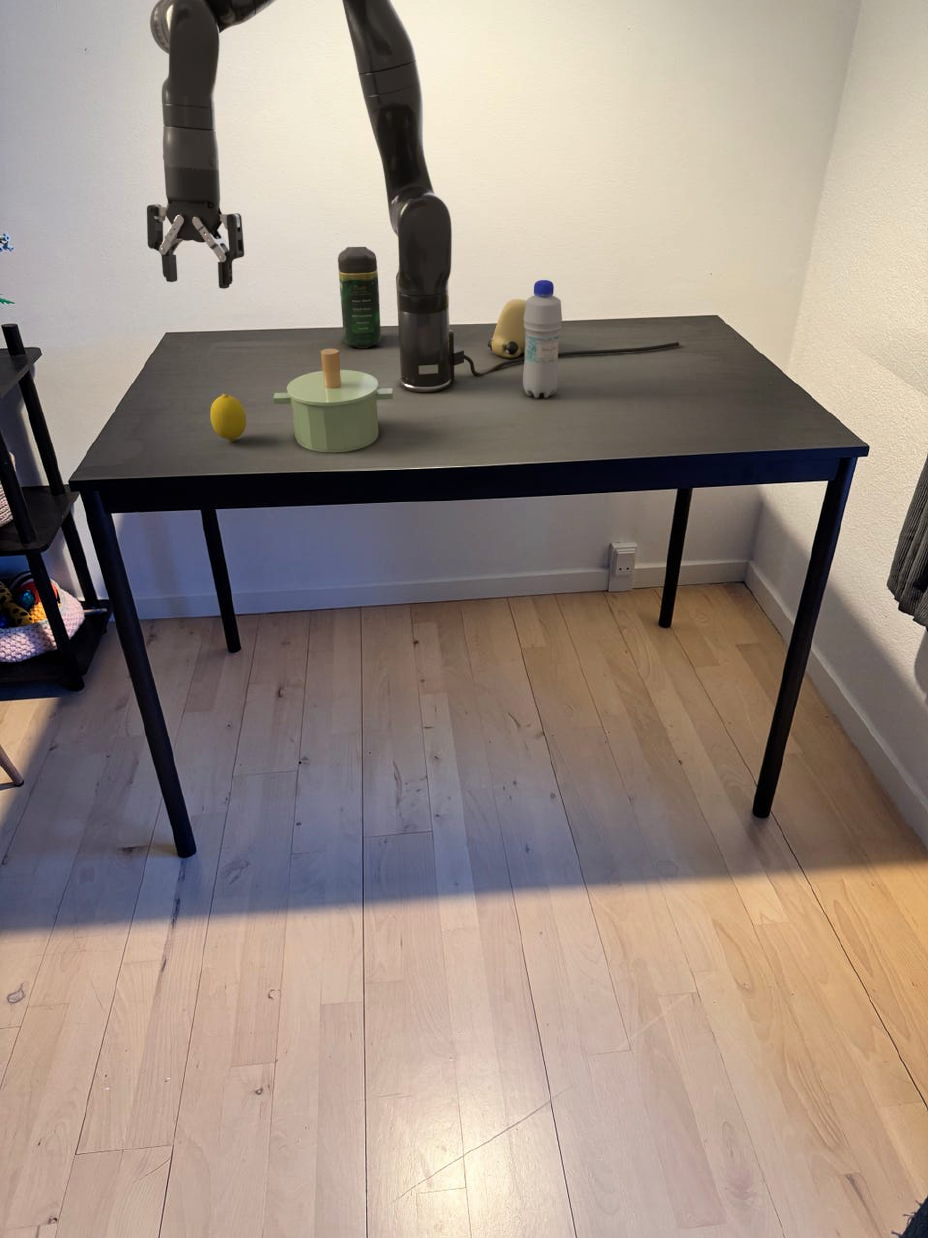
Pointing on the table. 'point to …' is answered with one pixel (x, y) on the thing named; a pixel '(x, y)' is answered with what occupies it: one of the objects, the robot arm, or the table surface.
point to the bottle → (541, 340)
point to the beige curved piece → (510, 330)
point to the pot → (335, 423)
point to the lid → (332, 384)
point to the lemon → (228, 417)
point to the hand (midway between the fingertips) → (197, 284)
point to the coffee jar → (359, 297)
